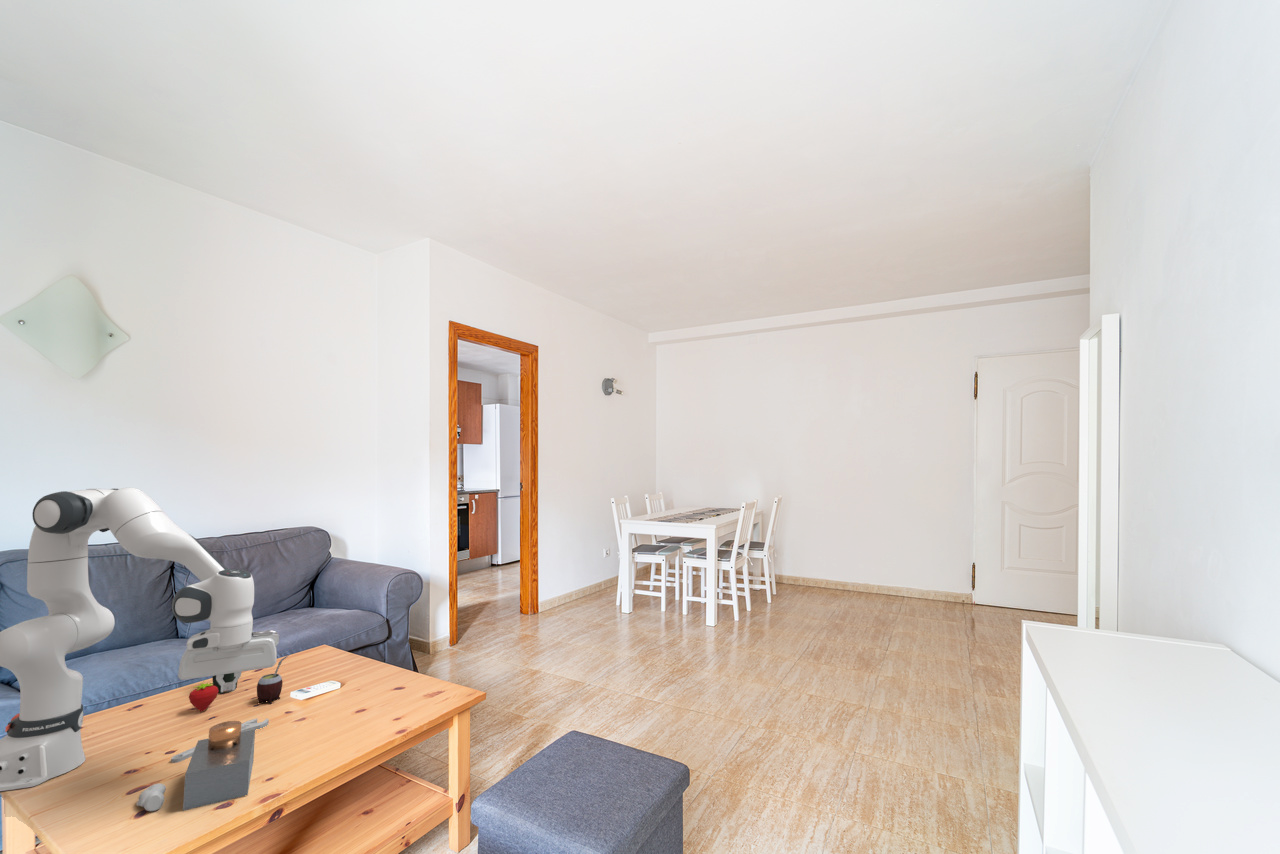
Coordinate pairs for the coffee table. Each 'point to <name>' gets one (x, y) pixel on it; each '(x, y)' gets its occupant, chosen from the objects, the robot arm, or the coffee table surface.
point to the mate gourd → (270, 686)
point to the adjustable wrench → (244, 727)
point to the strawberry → (203, 696)
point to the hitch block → (219, 772)
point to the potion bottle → (226, 679)
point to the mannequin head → (152, 797)
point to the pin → (224, 735)
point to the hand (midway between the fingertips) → (228, 690)
